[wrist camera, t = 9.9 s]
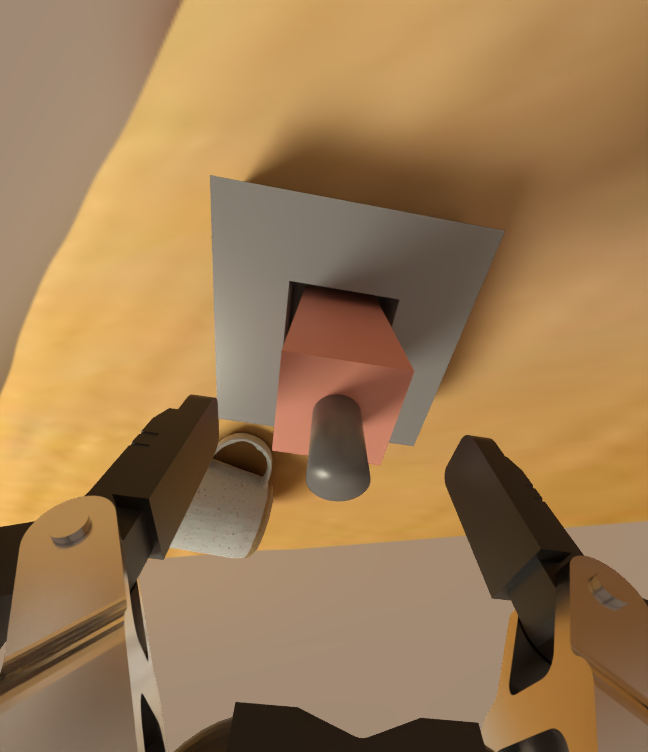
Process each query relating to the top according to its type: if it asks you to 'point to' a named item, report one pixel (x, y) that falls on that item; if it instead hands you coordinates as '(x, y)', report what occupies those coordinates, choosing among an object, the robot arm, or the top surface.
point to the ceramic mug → (228, 507)
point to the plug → (339, 389)
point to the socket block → (335, 286)
